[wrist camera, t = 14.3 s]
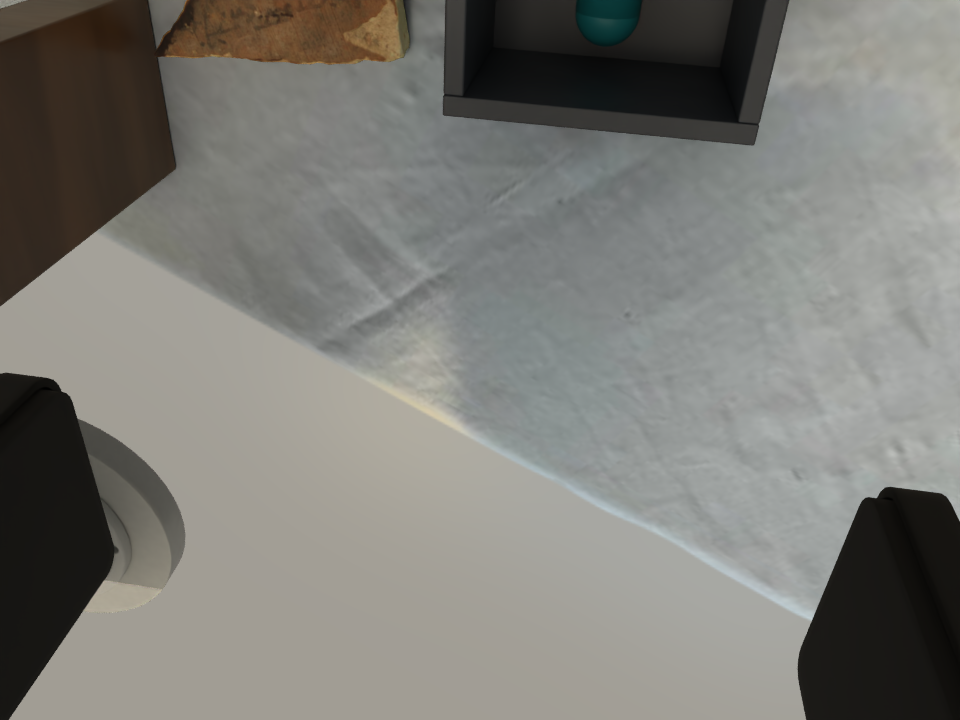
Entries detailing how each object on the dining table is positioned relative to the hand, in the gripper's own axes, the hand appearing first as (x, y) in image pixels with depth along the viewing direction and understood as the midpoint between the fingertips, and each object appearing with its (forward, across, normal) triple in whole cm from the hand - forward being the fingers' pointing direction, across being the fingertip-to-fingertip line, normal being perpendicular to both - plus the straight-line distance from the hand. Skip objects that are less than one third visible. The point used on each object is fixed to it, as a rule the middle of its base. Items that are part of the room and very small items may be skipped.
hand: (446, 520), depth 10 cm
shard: (+28, +11, 0) cm, 30 cm away
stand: (+28, +20, +4) cm, 34 cm away
